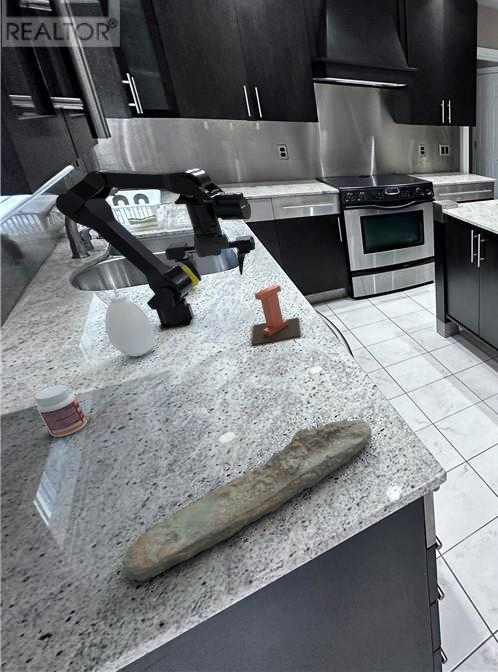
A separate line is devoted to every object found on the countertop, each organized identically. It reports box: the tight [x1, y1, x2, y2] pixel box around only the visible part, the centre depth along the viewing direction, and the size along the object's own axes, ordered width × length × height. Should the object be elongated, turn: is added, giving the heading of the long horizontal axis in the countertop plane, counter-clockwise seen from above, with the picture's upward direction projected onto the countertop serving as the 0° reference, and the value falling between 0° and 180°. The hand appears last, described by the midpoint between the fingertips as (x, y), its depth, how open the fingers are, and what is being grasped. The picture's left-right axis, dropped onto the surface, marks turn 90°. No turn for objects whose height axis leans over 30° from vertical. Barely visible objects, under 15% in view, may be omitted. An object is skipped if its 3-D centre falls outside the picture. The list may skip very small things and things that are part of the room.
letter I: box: [254, 284, 288, 336], centre depth 107 cm, size 2×6×12 cm, turn 163°
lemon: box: [181, 265, 200, 290], centre depth 130 cm, size 6×6×8 cm
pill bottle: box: [34, 384, 88, 438], centre depth 73 cm, size 5×5×8 cm
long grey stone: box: [121, 419, 372, 582], centre depth 64 cm, size 35×5×10 cm
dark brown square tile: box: [251, 317, 302, 347], centre depth 109 cm, size 11×11×1 cm
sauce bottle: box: [104, 285, 156, 357], centre depth 94 cm, size 8×8×18 cm
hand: (221, 277), depth 109 cm, fingers open, 9 cm apart
